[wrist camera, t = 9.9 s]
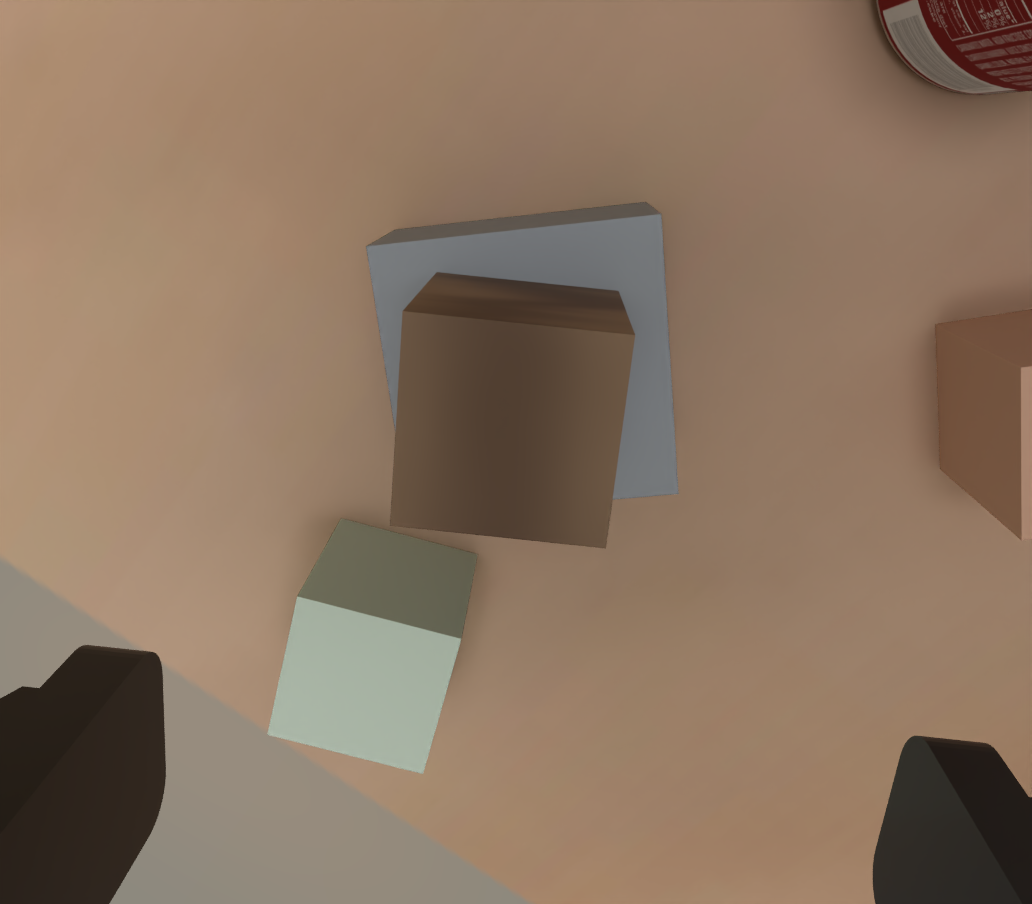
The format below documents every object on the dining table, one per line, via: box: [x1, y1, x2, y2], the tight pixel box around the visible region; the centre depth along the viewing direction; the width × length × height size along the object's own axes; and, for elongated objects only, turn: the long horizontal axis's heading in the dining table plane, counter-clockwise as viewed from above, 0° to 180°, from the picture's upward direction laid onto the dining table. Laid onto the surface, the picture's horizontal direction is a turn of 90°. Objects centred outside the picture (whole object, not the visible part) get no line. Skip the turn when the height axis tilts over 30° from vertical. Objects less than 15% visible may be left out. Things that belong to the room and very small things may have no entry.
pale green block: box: [267, 518, 478, 774], centre depth 32 cm, size 5×5×6 cm
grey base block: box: [366, 202, 678, 499], centre depth 29 cm, size 8×8×5 cm
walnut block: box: [390, 272, 635, 548], centre depth 24 cm, size 5×5×6 cm
